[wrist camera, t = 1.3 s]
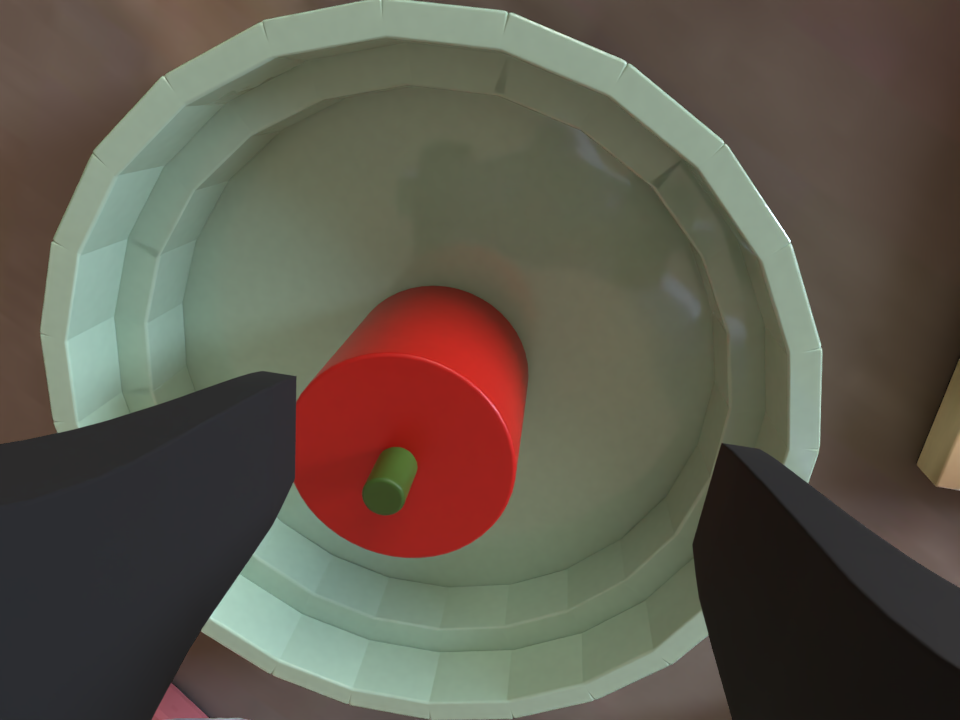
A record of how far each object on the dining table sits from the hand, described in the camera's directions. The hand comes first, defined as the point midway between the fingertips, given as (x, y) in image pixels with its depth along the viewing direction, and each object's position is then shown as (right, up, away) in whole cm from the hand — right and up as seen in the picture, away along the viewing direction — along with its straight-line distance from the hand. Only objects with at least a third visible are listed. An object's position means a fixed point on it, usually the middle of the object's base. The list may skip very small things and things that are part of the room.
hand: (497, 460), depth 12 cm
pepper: (-1, +1, +8) cm, 9 cm away
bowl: (-1, +2, +9) cm, 9 cm away
